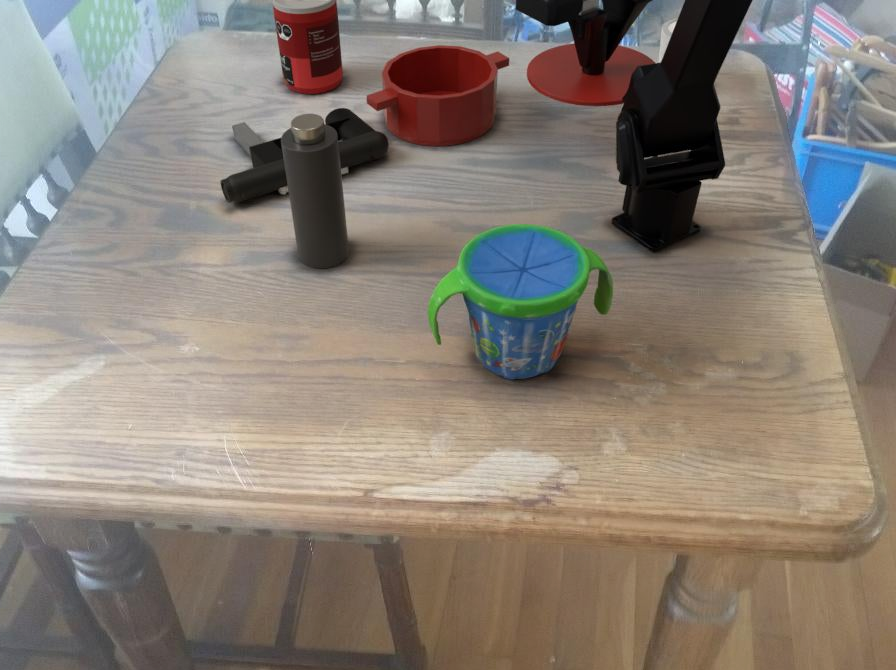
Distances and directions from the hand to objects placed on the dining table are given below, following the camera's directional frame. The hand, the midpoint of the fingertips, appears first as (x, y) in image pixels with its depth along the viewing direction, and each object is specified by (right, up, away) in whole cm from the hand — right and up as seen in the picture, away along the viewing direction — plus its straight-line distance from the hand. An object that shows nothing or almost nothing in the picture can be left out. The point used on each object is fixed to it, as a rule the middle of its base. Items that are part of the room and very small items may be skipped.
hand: (594, 63), depth 94 cm
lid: (0, -1, +1) cm, 1 cm away
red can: (-32, +5, +20) cm, 38 cm away
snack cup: (-11, -33, -18) cm, 39 cm away
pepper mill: (-29, -22, -6) cm, 37 cm away
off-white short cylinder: (+14, +3, +14) cm, 20 cm away
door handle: (-34, -9, +7) cm, 36 cm away
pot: (-16, -2, +11) cm, 20 cm away
